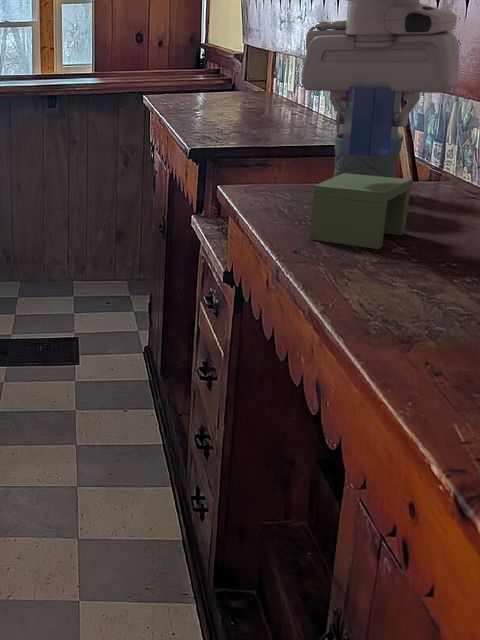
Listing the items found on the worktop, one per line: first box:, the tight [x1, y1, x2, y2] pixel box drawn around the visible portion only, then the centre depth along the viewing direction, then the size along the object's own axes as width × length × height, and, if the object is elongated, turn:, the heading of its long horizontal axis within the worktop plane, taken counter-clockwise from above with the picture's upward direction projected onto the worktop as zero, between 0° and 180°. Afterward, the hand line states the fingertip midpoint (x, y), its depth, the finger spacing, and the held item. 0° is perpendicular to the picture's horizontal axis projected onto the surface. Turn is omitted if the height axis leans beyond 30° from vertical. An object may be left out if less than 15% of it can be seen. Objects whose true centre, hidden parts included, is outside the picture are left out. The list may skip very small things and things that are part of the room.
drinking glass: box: [333, 132, 404, 178], centre depth 139 cm, size 10×10×12 cm
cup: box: [342, 87, 403, 156], centre depth 121 cm, size 7×7×9 cm
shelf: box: [309, 173, 412, 250], centre depth 126 cm, size 10×10×8 cm
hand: (371, 125), depth 121 cm, fingers closed on cup, 6 cm apart
